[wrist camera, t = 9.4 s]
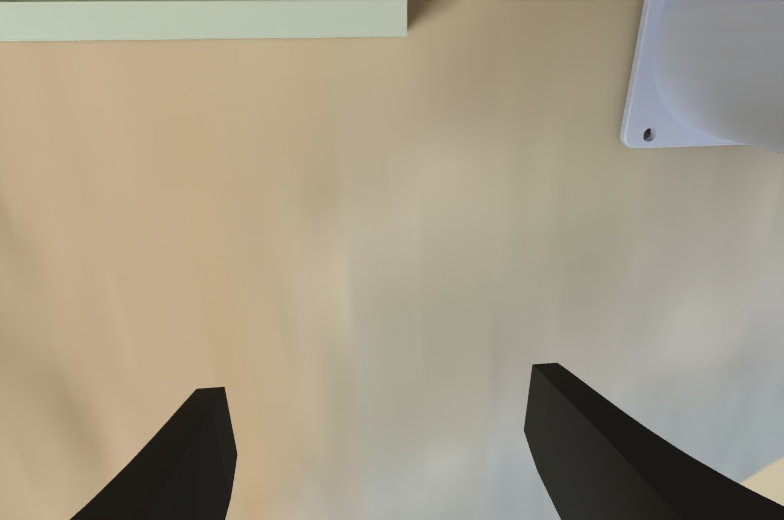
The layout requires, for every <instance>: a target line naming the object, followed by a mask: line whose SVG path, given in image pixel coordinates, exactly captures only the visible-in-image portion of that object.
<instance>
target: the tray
mask: <svg viewBox="0 0 784 520" xmlns="http://www.w3.org/2000/svg"><path fill="white" fill-rule="evenodd" d="M340 37H407V0H0V42H10V41H92V40H175V39H257V38H340Z"/></svg>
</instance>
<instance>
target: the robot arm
mask: <svg viewBox="0 0 784 520" xmlns="http://www.w3.org/2000/svg"><path fill="white" fill-rule="evenodd" d="M649 128H650V129H651V133H650V135H649V137H648V138H647V139H645V140H644V139H643V135H644V132H645V131H646V130H647V129H649ZM620 140H621V142H622V144H624V145H625V146H627V147H630V148H657V147H687V146H717V145H751V146H755V147H759V148H763V149H766V150H770V151H774V152H778V153H782V154H784V0H644V4H643V9H642V15H641V20H640V26H639V32H638V37H637V43H636V48H635V54H634V59H633V65H632V71H631V76H630V82H629V87H628V93H627V98H626V104H625V110H624V115H623V121H622V126H621V132H620ZM524 432H525V435H526V438H527V441H528V444H529V448H530V451H531V454H532V456H533V459H534V462H535V465H536V468H537V470H538V473H539V475H540V477H541V479H542V481H543V483H544V485H545V487H546V489H547V492H548V494H549V496H550V498H551V500H552V502H553V504H554V506H555V508H556V510H557V512H558V514H559V516H560V518H561V520H784V506H782V505H780V504H778V503H776V502H774V501H772V500H770V499H768V498H766V497H763V496H762V495H760V494H758V493H756V492H754V491H752V490H750V489H748V488H746V487H744V486H742V485H740V484H738V483H737V482H735V481H733V480H731V479H729V478H727V477H726V476H724V475H722V474H720V473H719V472H717V471H715V470H713V469H712V468H710V467H708V466H706V465H705V464H703V463H701V462H699V461H698V460H696V459H694V458H693V457H691V456H689V455H688V454H686V453H684V452H683V451H681V450H679V449H678V448H676V447H675V446H673V445H672V444H670V443H669V442H667V441H666V440H664V439H663V438H661V437H660V436H658V435H656V434H655V433H653V432H652V431H650V430H649V429H647V428H646V427H645V426H643V425H642V424H640V423H639V422H637V421H636V420H634V419H633V418H632V417H630V416H629V415H627V414H626V413H625V412H623V411H622V410H620V409H619V408H618V407H616V406H615V405H614V404H612V403H611V402H610V401H608V400H607V399H606V398H604V397H603V396H601V395H600V394H599V393H598V392H596V391H595V390H594V389H592V388H591V387H590V386H588V385H587V384H586V383H584V382H583V381H582V380H580V379H579V378H578V377H576V376H575V375H574V374H572V373H571V372H570V371H568V370H567V369H565V368H564V367H563V366H561V365H560V364H558V363H547V364H533V365H532V372H531V380H530V388H529V395H528V403H527V410H526V418H525V426H524ZM236 460H237V450H236V445H235V440H234V434H233V429H232V424H231V419H230V413H229V408H228V403H227V398H226V392H225V387H215V388H202V389H196V390H195V391H194V392H193V393H192V395H191V396H190V397H189V398H188V399H187V400H186V401H185V402H184V403H183V404H182V406H181V407H180V408H179V409H178V410H177V411H176V412H175V413H174V415H173V416H172V417H171V418H170V419H169V420H168V421H167V422H166V424H165V425H164V426H163V427H162V428H161V429H160V430H159V431H158V433H157V434H156V435H155V436H154V437H153V438H152V439H151V440H150V441H149V442H148V443H147V444H146V445H145V447H144V448H143V449H142V450H141V451H140V452H139V453H138V454H137V455H136V456H135V457H134V458H133V459H132V460H131V461H130V463H129V464H128V465H127V466H126V467H125V468H124V469H123V470H122V471H121V472H120V473H119V474H118V475H117V476H116V477H115V478H114V479H113V480H112V481H110V482H109V483H108V484H107V485H106V486H105V487H104V488H103V489H102V490H101V491H100V492H99V493H98V494H97V495H96V496H95V497H94V498H93V499H92V500H91V501H90V502H89V503H88V504H87V505H86V506H85V507H83V508H82V509H81V510H80V511H79V512H78V513H77V514H76V515H75V516H73V517H72V518H71V519H70V520H225V518H226V514H227V510H228V507H229V503H230V499H231V493H232V487H233V481H234V474H235V467H236Z"/></svg>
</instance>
